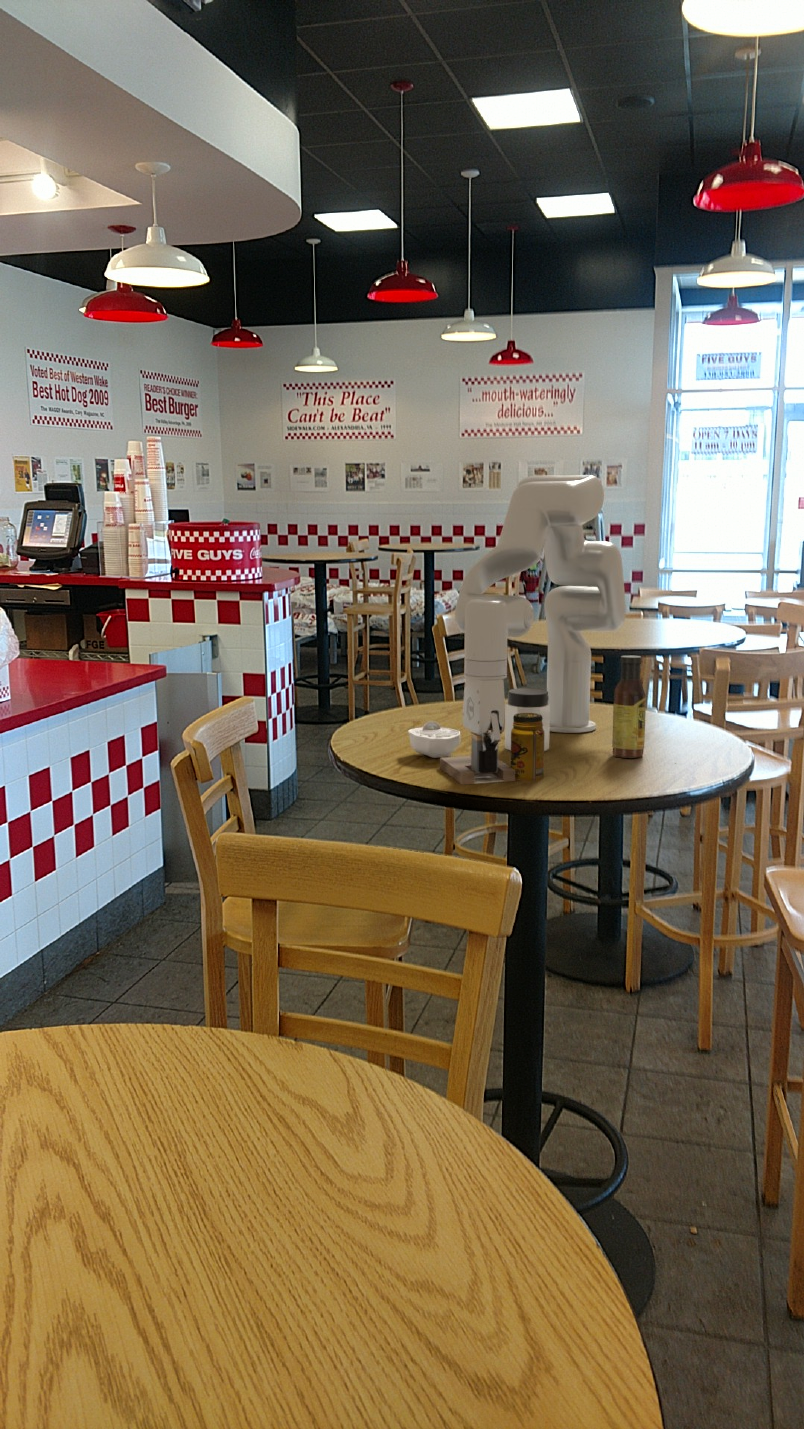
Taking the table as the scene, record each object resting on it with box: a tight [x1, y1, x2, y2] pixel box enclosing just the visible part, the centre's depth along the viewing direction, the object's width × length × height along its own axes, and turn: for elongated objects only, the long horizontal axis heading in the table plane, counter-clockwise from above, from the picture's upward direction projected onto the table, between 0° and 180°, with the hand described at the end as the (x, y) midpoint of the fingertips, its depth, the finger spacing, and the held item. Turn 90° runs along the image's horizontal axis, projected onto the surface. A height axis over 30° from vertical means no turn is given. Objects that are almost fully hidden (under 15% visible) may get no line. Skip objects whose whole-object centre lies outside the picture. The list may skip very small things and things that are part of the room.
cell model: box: [407, 720, 462, 759], centre depth 211 cm, size 10×12×7 cm
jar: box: [504, 687, 550, 752], centre depth 216 cm, size 9×8×12 cm
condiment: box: [510, 713, 545, 782], centre depth 194 cm, size 7×8×12 cm
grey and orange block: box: [470, 731, 499, 773], centre depth 192 cm, size 3×4×7 cm
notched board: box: [439, 755, 516, 786], centre depth 196 cm, size 13×10×2 cm
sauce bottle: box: [611, 654, 647, 759], centre depth 210 cm, size 6×6×20 cm
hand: (484, 769), depth 192 cm, fingers closed on grey and orange block, 3 cm apart
